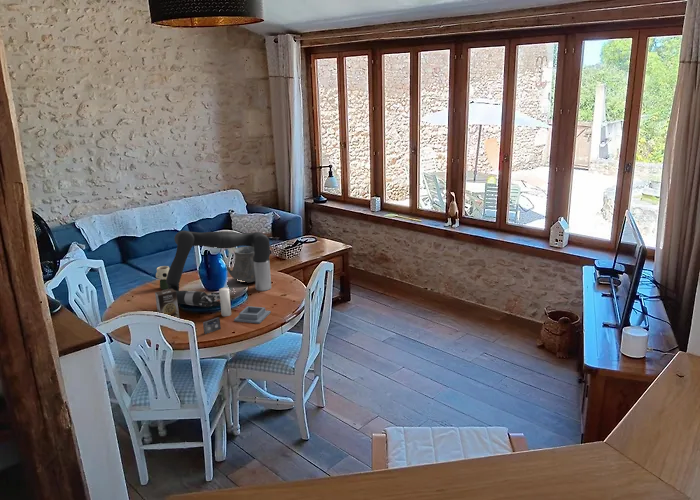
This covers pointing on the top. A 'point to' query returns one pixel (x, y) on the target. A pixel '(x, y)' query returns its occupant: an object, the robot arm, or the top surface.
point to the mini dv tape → (211, 325)
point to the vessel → (243, 264)
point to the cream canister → (225, 301)
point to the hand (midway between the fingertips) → (223, 300)
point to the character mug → (162, 276)
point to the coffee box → (167, 302)
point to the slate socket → (252, 315)
